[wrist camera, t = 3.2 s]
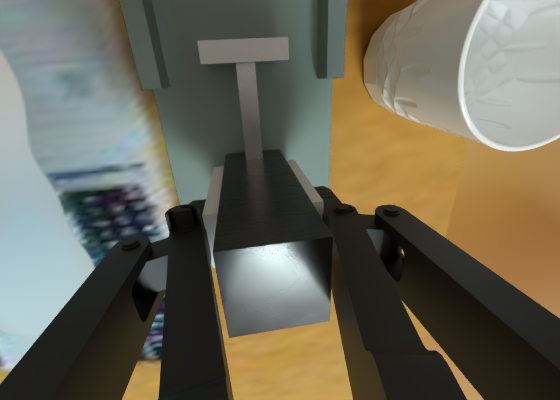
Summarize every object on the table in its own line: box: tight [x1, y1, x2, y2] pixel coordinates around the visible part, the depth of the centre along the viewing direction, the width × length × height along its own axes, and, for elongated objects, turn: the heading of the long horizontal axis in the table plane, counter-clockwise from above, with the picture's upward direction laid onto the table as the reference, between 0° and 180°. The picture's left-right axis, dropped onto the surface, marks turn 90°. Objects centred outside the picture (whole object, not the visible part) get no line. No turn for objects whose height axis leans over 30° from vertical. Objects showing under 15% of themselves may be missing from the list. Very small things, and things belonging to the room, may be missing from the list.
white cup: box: [363, 0, 560, 151], centre depth 15 cm, size 8×8×10 cm
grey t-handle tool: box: [197, 37, 333, 338], centre depth 14 cm, size 4×18×11 cm, turn 3°
